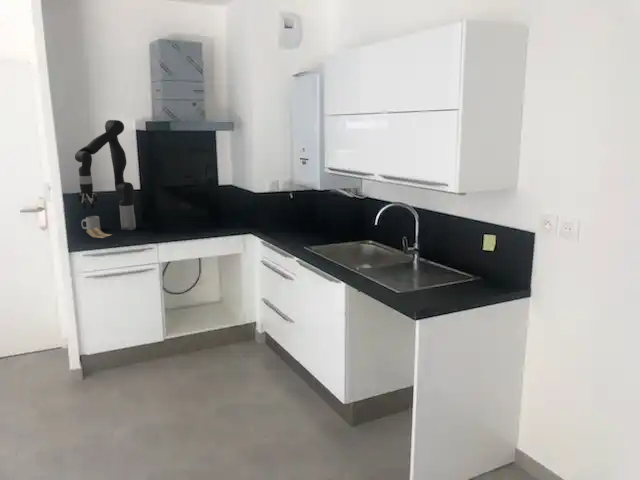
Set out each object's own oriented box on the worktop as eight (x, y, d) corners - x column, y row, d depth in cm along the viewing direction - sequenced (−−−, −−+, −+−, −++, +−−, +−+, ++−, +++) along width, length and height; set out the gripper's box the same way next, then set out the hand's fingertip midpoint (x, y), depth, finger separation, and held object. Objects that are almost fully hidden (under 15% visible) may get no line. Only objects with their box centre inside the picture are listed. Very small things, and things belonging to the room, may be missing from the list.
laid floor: (95, 235, 352) (95, 232, 352) (113, 236, 348) (113, 234, 348) (84, 238, 342) (84, 236, 341) (102, 240, 338) (102, 238, 338)
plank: (96, 228, 350) (96, 227, 350) (104, 235, 350) (104, 233, 349) (85, 231, 341) (86, 230, 340) (94, 238, 340) (94, 236, 340)
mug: (102, 231, 363) (101, 215, 360) (98, 234, 354) (96, 218, 352) (84, 231, 362) (83, 216, 359) (80, 234, 354) (78, 218, 351)
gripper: (99, 182, 338) (102, 208, 342) (80, 181, 341) (83, 207, 346) (91, 184, 331) (94, 210, 335) (72, 183, 334) (75, 209, 339)
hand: (88, 208), depth 340 cm, fingers open, 5 cm apart
